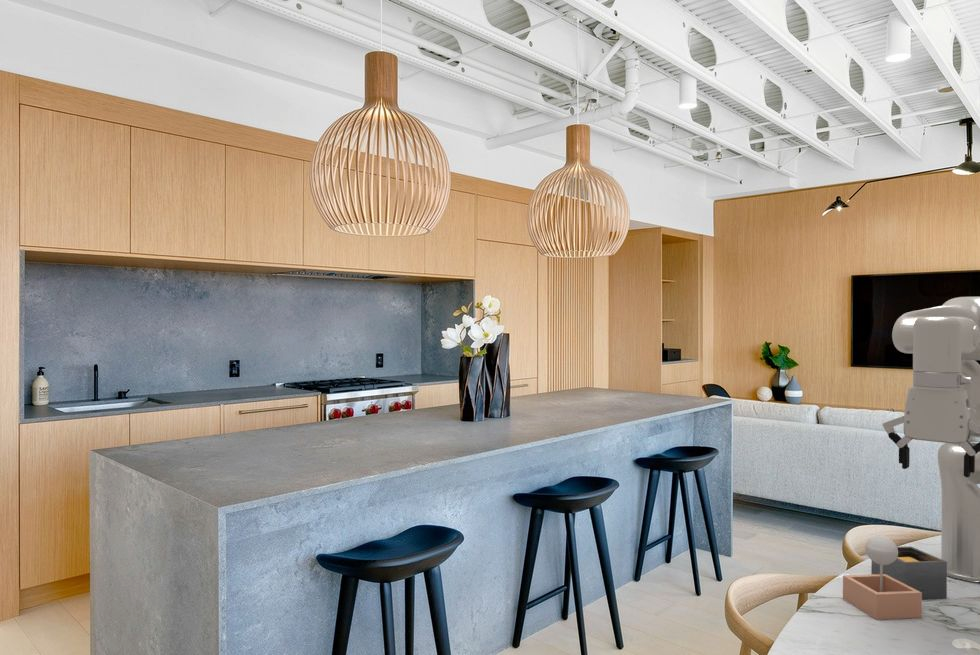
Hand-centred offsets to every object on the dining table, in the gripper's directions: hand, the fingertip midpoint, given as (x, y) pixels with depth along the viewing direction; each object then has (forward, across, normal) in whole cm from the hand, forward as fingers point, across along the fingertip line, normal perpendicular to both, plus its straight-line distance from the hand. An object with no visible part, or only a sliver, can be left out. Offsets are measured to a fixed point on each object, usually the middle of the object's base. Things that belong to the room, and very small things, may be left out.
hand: (935, 471), depth 121 cm
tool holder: (+31, +10, -8) cm, 34 cm away
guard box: (+31, +8, -23) cm, 40 cm away
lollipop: (+31, +10, -8) cm, 34 cm away
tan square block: (+29, +8, -23) cm, 38 cm away
